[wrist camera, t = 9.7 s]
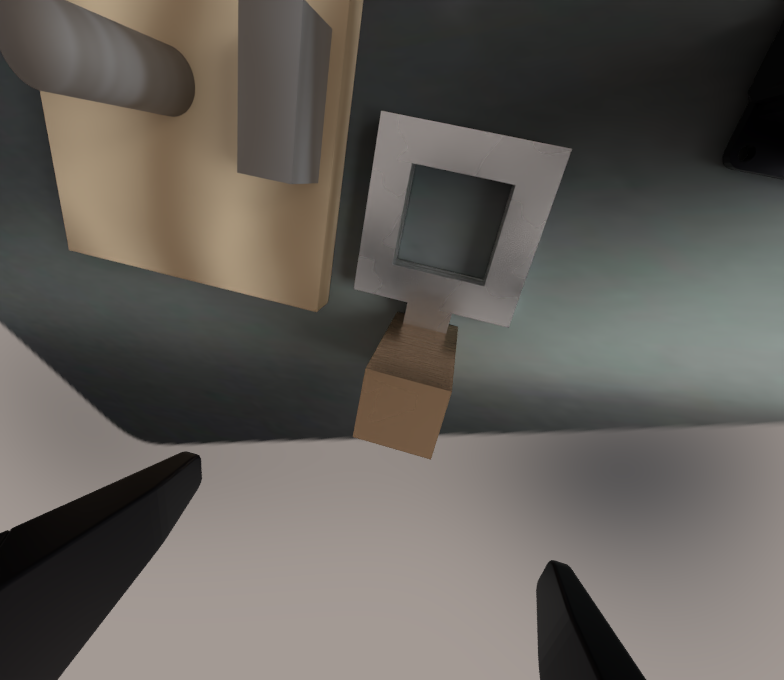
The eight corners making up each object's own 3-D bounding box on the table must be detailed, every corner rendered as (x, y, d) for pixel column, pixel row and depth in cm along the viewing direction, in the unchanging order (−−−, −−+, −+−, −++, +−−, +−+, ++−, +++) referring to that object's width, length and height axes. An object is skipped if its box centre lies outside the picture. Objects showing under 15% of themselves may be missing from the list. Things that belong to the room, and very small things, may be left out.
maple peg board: (368, -42, 13) (285, -215, 7) (328, 302, 19) (262, 359, 13) (45, -91, 15) (-242, -270, 9) (96, 245, 20) (-59, 273, 14)
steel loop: (564, 150, 14) (619, 135, 9) (481, 390, 19) (484, 474, 14) (387, 115, 15) (340, 81, 10) (349, 354, 20) (302, 422, 14)
